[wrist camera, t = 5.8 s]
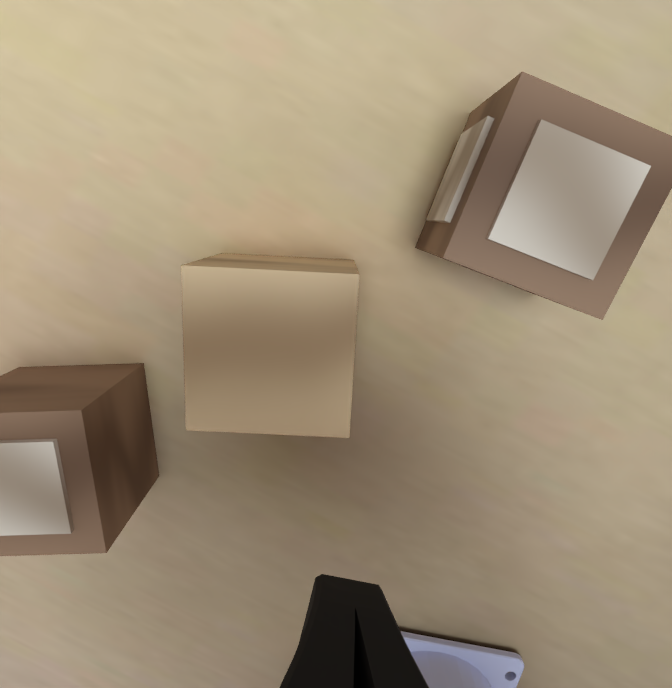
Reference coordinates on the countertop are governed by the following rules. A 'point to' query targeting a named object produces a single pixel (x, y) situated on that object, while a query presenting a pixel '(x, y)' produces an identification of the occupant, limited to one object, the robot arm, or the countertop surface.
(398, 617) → the countertop surface
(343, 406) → the oak block
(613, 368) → the countertop surface
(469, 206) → the walnut block
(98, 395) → the walnut block
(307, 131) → the countertop surface
